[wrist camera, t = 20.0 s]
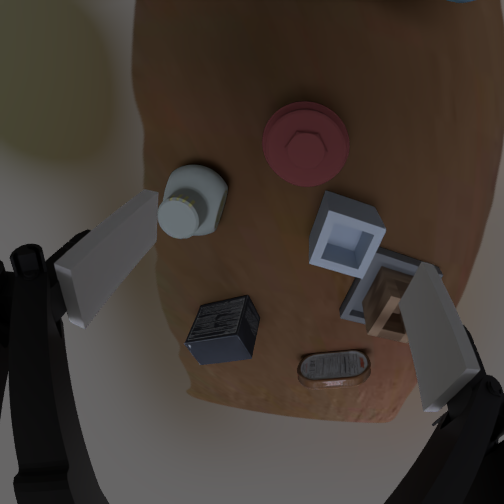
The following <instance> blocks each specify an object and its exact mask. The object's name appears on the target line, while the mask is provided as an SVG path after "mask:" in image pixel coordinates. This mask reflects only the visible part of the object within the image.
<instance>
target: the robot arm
mask: <svg viewBox="0 0 504 504" xmlns="http://www.w3.org/2000/svg"><path fill="white" fill-rule="evenodd" d="M447 1H452V2H456V3H466V2H470V1H474V0H447ZM157 209H158V192H155V191H150V190H145V189H144V190H143V191H142V192H140V193H139V194H138V195H136V196H135V197H133V198H132V199H131V200H130V201H128V202H127V203H126V204H124V205H123V206H122V207H120V208H119V209H118V210H117V211H115V212H114V213H113V214H112V215H110V216H109V217H108V218H107V219H105V220H104V221H103V222H101V223H100V224H99V225H98V226H97V227H95V228H94V229H93V230H92V231H91V230H85V231H83V232H81V233H78V234H77V235H75V236H74V237H73V238H72V239H71V240H70V241H69V242H67V243H66V244H65V245H64V246H63V247H61V248H60V249H59V250H58V251H57V252H55V253H54V254H53V255H52V256H51V257H50V258H49V259H48V260H46V261H45V259H44V255H43V250H42V248H41V247H40V246H39V245H37V244H26V245H22V246H20V247H19V248H17V249H15V250H14V251H13V252H12V254H11V256H10V260H11V264H12V267H13V270H14V272H8V271H5V268H4V264H3V262H2V261H0V417H1V409H2V402H3V397H4V391H5V386H6V380H7V375H8V371H9V393H10V394H9V395H10V409H11V419H12V428H13V436H14V443H15V449H16V455H17V460H18V465H19V472H18V474H17V475H16V476H15V477H14V482H13V485H14V492H15V496H16V500H17V503H18V504H109V503H108V501H107V499H106V497H105V496H104V494H103V493H102V491H101V489H100V487H99V485H98V482H97V479H96V477H95V474H94V471H93V468H92V465H91V462H90V458H89V455H88V452H87V449H86V445H85V442H84V438H83V435H82V431H81V427H80V423H79V419H78V415H77V411H76V406H75V401H74V396H73V391H72V386H71V380H70V374H69V369H68V361H67V354H66V347H65V338H64V329H63V322H62V319H61V317H62V316H63V315H64V314H65V312H66V311H67V314H68V317H69V321H70V322H71V323H73V324H75V325H77V326H80V327H82V328H84V329H86V327H87V326H88V325H89V323H90V322H91V321H92V319H93V318H94V317H95V316H96V314H97V313H98V312H99V310H100V309H101V308H102V306H103V305H104V304H105V303H106V301H107V300H108V299H109V298H110V296H111V295H112V294H113V292H114V291H115V290H116V289H117V287H118V286H119V285H120V284H121V283H122V281H123V280H124V279H125V278H126V277H127V275H128V274H129V273H130V272H131V270H132V269H133V268H134V267H135V266H136V265H137V263H138V262H139V261H140V260H141V259H142V257H143V256H144V255H145V254H146V253H147V251H148V250H149V249H150V248H151V247H152V246H153V245H154V244H155V242H156V241H157ZM398 304H399V307H400V311H401V314H402V318H403V321H404V325H405V329H406V333H407V336H408V340H409V344H410V348H411V353H412V357H413V361H414V366H415V370H416V375H417V380H418V385H419V389H420V395H421V400H422V406H423V411H428V412H438V411H439V410H440V409H441V408H442V407H443V406H445V405H446V404H447V406H448V411H447V412H446V413H445V414H443V415H442V416H441V417H440V418H439V419H437V420H436V421H435V422H434V423H433V424H432V425H433V426H434V425H436V424H437V423H438V425H437V427H436V429H435V431H434V432H433V434H432V436H431V437H430V439H429V441H428V442H427V444H426V446H425V447H424V449H423V450H422V452H421V453H420V455H419V457H418V458H417V460H416V461H415V463H414V464H413V466H412V467H411V468H410V470H409V471H408V473H407V474H406V476H405V477H404V478H403V480H402V481H401V482H400V484H399V485H398V487H397V488H396V489H395V490H394V492H393V493H392V494H391V495H390V497H389V498H388V499H387V500H386V502H385V503H384V504H504V440H503V441H502V442H500V443H498V439H499V438H500V437H501V436H502V435H504V393H503V390H502V387H501V385H500V383H499V382H498V381H497V380H496V379H495V378H494V377H493V376H490V375H486V372H485V369H484V367H483V364H482V361H481V359H480V356H479V353H478V352H477V348H476V346H475V344H474V341H473V339H472V336H471V334H470V332H469V331H468V330H467V328H466V327H465V326H464V325H463V324H462V322H461V320H460V317H459V315H458V313H457V311H456V309H455V306H454V304H453V302H452V300H451V298H450V296H449V294H448V292H447V290H446V288H445V286H444V284H443V282H442V280H441V278H440V276H439V274H438V272H437V270H436V269H435V267H434V265H432V264H429V263H426V262H421V264H420V265H419V267H418V269H417V271H416V273H415V275H414V277H413V279H412V280H411V282H410V284H409V286H408V288H407V289H406V291H405V293H404V295H403V296H402V298H401V300H400V301H399V303H398Z"/></svg>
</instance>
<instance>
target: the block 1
mask: <svg viewBox="0 0 504 504" xmlns="http://www.w3.org/2000/svg"><path fill="white" fill-rule="evenodd" d="M385 232H386V228H385V226H384V224H383V222H382V220H381V218H380V216H379V214H378V212H377V210H376V208H375V207H373V206H371V205H368V204H365V203H362V202H359V201H356V200H353V199H350V198H347V197H344V196H341V195H338V194H335V193H332V192H329V191H325V193H324V196H323V199H322V202H321V205H320V208H319V211H318V214H317V216H316V219H315V222H314V225H313V228H312V230H311V233H310V236H309V264H313V265H316V266H320V267H323V268H326V269H330V270H333V271H337V272H340V273H344V274H347V275H350V276H354V277H357V278H361V279H363V277H364V275H365V273H366V271H367V269H368V267H369V265H370V263H371V261H372V259H373V257H374V255H375V253H376V251H377V249H378V247H379V245H380V243H381V240H382V238H383V236H384V234H385Z"/></svg>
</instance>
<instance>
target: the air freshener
mask: <svg viewBox="0 0 504 504" xmlns="http://www.w3.org/2000/svg"><path fill="white" fill-rule="evenodd" d="M227 192H228V186H227V185H226V183H225V181H224V180H223V179H222V177H221V176H220V175H219V174H218V173H216V172H215V171H213V170H212V169H210V168H208V167H205V166H202V165H186V166H182V167H180V168H177V169H176V170H174V171H173V172H172V173H171V175H170V177H169V180H168V182H167V185H166V189H165V193H164V199H163V202H162V203H161V205H160V206H159V209H158V213H157V217H158V222H159V224H160V226H161V228H162V229H163V230H164V231H165V232H166V233H167V234H168V235H169V236H172V237H174V238H179V239H183V238H185V239H186V238H189V237H191V236H192V235H206V234H209V233H212V232H214V231H215V230H216V228H217V226H218V224H219V221H220V218H221V215H222V212H223V208H224V205H225V201H226V197H227Z"/></svg>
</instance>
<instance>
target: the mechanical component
mask: <svg viewBox="0 0 504 504" xmlns="http://www.w3.org/2000/svg"><path fill="white" fill-rule="evenodd" d="M262 146H263V152H264V155H265V158H266V160H267V162H268V164H269V165H270V167H271V168H272V169H273V171H274V172H275V173H276V174H278V175H279V176H280V177H281V178H282V179H284V180H285V181H287V182H289V183H291V184H294V185H297V186H303V187H312V186H317V185H321V184H323V183H325V182H327V181H329V180H330V179H332V178H333V177H334V176H335V175H336V174H337V173H338V172H339V171H340V170H341V169H342V168H343V166H344V164H345V162H346V160H347V157H348V154H349V146H350V143H349V136H348V132H347V130H346V127H345V125H344V123H343V122H342V120H341V119H340V118H339V117H338V116H337V115H336V114H335V113H334V112H333V111H332V110H330V109H329V108H327V107H325V106H323V105H321V104H318V103H315V102H309V101H300V102H294V103H291V104H288V105H286V106H284V107H282V108H281V109H279V110H278V111H277V112H275V113H274V114H273V116H272V117H271V118H270V119H269V121H268V122H267V124H266V127H265V129H264V132H263V138H262Z"/></svg>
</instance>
